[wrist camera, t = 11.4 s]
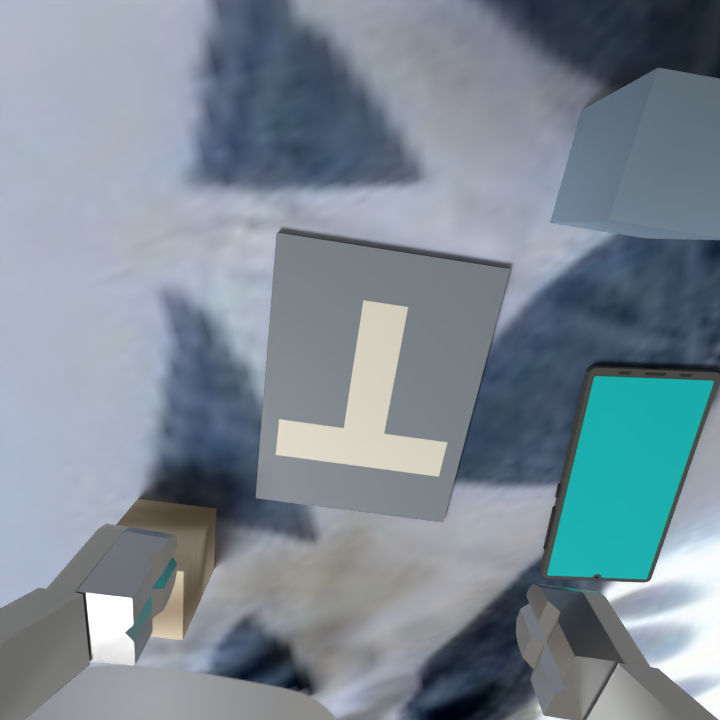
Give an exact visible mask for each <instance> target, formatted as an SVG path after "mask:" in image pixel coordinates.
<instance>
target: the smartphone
mask: <svg viewBox="0 0 720 720" xmlns="http://www.w3.org/2000/svg"><path fill="white" fill-rule="evenodd" d="M719 380H720V375H719V374H718V373H716V372H714V371H711V370H700V369H674V368H645V367H622V366H596V365H593V366H590V367H588V368H587V370H586V373H585V377H584V381H583V386H582V390H581V394H580V399H579V403H578V407H577V412H576V416H575V420H574V425H573V429H572V433H571V437H570V442H569V446H568V450H567V455H566V459H565V463H564V468H563V472H562V476H561V481H560V484H558V487H557V491H556V496H555V497H556V502H555V507H553V509H552V513H551V517H550V522H549V526H548V530H547V535H546V539H545V543H544V549H545V550H544V554H543V558H542V563H541V567H540V571H541V573H542V575H543V577H544V578H547V579H571V580H592V581H621V582H648V581H650V579H651V577H652V575H653V572H654V569H655V566H656V563H657V560H658V557H659V554H660V551H661V548H662V545H663V543H664V540H665V537H666V534H667V531H668V528H669V525H670V522H671V519H672V516H673V514H674V511H675V508H676V505H677V502H678V499H679V496H680V493H681V490H682V487H683V485H684V482H685V479H686V476H687V473H688V470H689V467H690V464H691V461H692V458H693V456H694V453H695V450H696V447H697V444H698V441H699V438H700V435H701V432H702V429H703V426H704V424H705V421H706V418H707V415H708V412H709V409H710V406H711V403H712V400H713V397H714V395H715V392H716V389H717V386H718V383H719Z"/></svg>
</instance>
